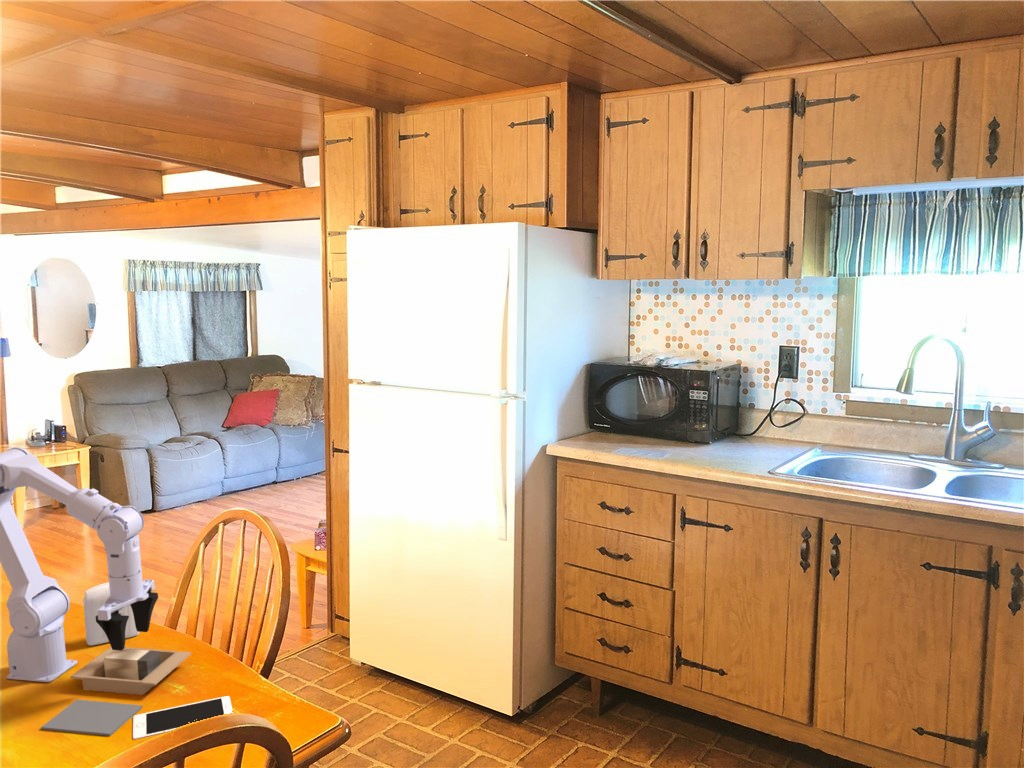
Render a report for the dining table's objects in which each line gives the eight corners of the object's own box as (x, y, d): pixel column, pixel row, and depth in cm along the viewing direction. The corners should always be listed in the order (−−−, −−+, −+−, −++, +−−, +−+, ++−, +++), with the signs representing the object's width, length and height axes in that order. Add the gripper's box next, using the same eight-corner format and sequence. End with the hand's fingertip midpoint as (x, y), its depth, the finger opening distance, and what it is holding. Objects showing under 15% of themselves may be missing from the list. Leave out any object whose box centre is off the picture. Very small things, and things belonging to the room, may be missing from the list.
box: (105, 679, 157) (103, 657, 156) (118, 669, 161) (117, 648, 160) (148, 683, 155) (146, 661, 154) (160, 673, 159) (159, 651, 158)
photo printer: (138, 628, 178) (134, 574, 176) (141, 636, 175) (137, 580, 173) (85, 640, 173) (80, 585, 171) (88, 648, 169) (82, 591, 167)
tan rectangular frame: (71, 688, 153) (70, 676, 153) (113, 657, 165) (112, 646, 165) (155, 696, 150) (154, 683, 150) (191, 664, 162) (191, 652, 162)
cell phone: (133, 718, 144) (133, 715, 144) (229, 698, 150) (229, 695, 150) (133, 742, 137) (132, 738, 137) (233, 719, 143) (233, 716, 143)
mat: (41, 729, 140) (41, 727, 140) (77, 701, 149) (76, 699, 149) (110, 736, 138) (109, 733, 138) (142, 707, 147) (142, 705, 147)
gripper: (120, 588, 147) (126, 659, 149) (166, 559, 161) (171, 624, 163) (84, 586, 148) (91, 656, 150) (133, 557, 162) (139, 622, 164)
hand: (130, 640), depth 157 cm, fingers open, 7 cm apart
